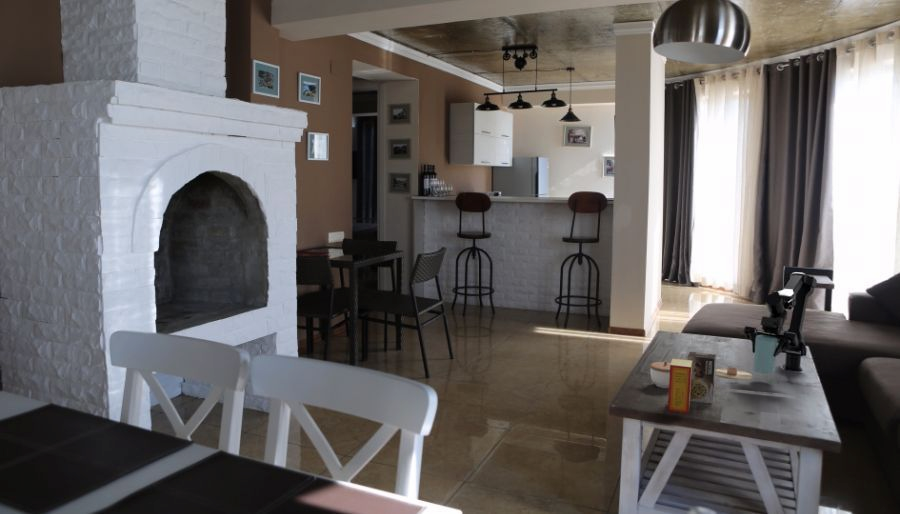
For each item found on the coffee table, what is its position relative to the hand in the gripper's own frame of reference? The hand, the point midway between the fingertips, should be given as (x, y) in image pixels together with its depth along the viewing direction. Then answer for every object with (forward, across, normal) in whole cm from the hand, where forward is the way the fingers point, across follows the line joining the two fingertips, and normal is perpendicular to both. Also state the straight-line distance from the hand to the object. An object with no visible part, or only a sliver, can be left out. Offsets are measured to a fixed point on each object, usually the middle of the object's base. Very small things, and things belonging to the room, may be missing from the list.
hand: (763, 354), depth 261 cm
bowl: (+6, -12, +10) cm, 17 cm away
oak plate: (+6, -12, +11) cm, 18 cm away
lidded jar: (+28, -25, -11) cm, 39 cm away
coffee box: (+33, -9, -16) cm, 37 cm away
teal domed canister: (+4, 0, +6) cm, 7 cm away
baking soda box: (+42, -10, -25) cm, 50 cm away
